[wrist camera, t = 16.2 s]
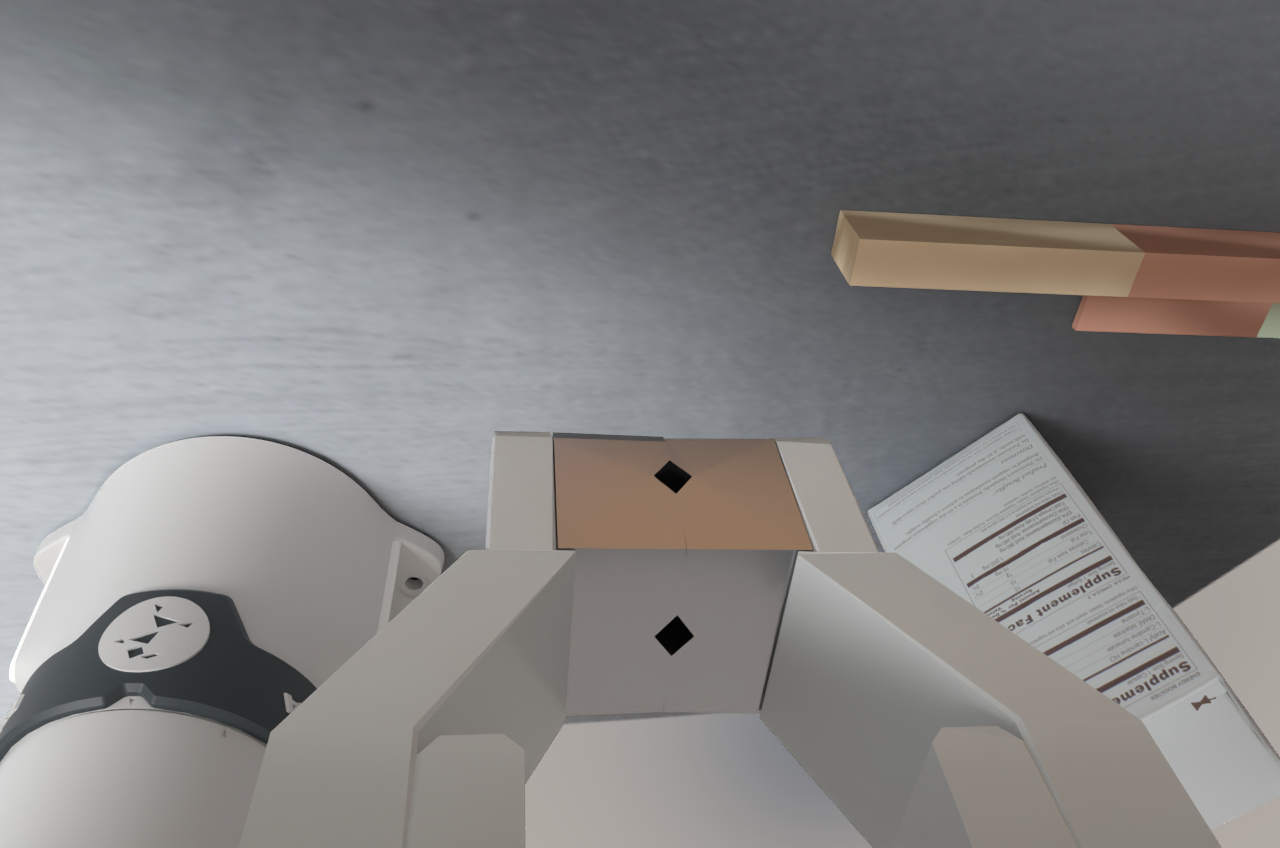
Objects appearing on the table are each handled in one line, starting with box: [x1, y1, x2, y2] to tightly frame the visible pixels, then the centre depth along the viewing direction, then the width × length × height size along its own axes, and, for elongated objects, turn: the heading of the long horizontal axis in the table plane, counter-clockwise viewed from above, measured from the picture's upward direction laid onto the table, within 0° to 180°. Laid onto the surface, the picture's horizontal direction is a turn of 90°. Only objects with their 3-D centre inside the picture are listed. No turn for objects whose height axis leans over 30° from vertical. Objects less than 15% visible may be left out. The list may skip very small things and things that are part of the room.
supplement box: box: [868, 413, 1280, 830], centre depth 45 cm, size 10×9×17 cm
